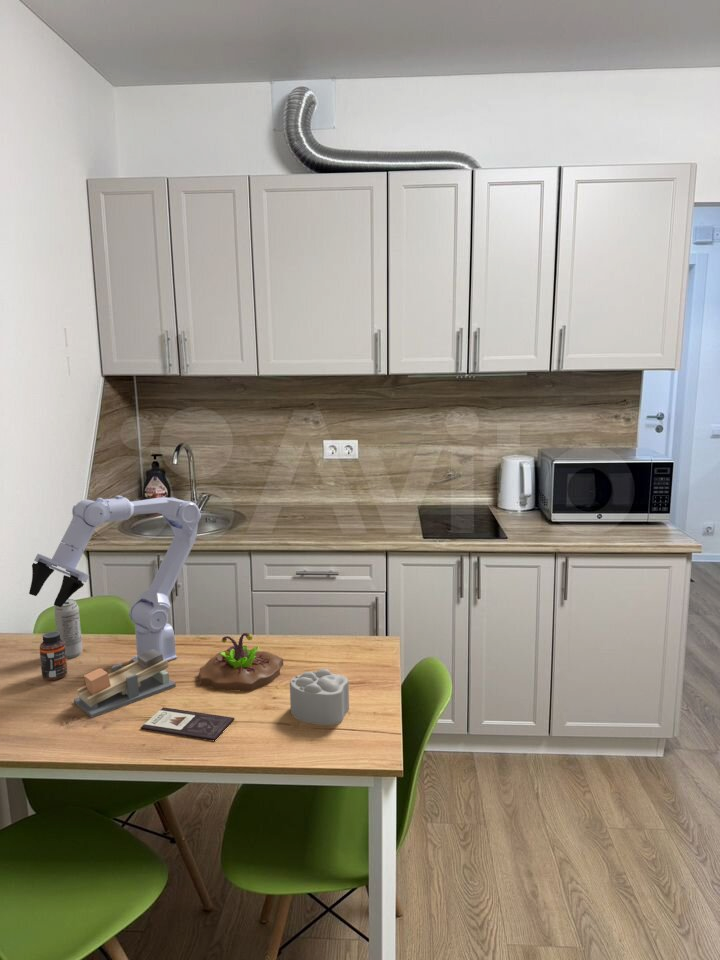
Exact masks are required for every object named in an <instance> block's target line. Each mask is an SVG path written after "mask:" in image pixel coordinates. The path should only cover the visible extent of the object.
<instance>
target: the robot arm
mask: <svg viewBox="0 0 720 960" xmlns="http://www.w3.org/2000/svg"><path fill="white" fill-rule="evenodd" d="M123 496H124V495H121V494H120V495H114V498H105V499H104V498H103V497H97V498H96V500H95V501H94V500H92V499H88V498H87V499H81V500H80V501H79V502H77V503H76V505H73V507H72V509H71V510H72V511H71V513H72V518H71V521H70V522H69V525H68V527H67V529H66V530H65V533H64V535H63V537H62V538H61V540H60V542H59V544H58V546H57V548H56V550H55V552H54V554H53V556H52V558H50V557H48V556H45V555H43V554H41V553H37V554H36V556H35V558H34V560H33V561H34V562H33V563H32V565H31V568H32V569H31V570H32V573H31V574H32V575H31V583H30V587H29V592H28V594H29V595H31V596H34V597H38V594H39V593H41V590H42V589H43V586H44V584H45V583H46V581H47V580H48V578H49V577H50V576H51V575H52V574H53V573H54V572H55V571H57V572H59V573H62V574H64V575H63V576H62V583H61V586H60V588H59V591H58V594H57V596H56V598H55V599H54V603H53V605H54V606H55V607H56V606H58V607H62V605H63V604H64V603H65V602H66V601H67V599H70V597H71V596H72V595H74V594H75V593H76V592H77V591H79V589H81V588H82V587H83V586H85V583H87V581H88V579H89V577H90V574H87V573H85V572H84V571H81V570H79V569H76V568H77V566H78V564H79V562H80V561H81V558H82V556H83V555H84V552H85V551H86V550H85V549H86V548H87V546H88V545H89V542H90V540H91V538H92V536H93V534H94V533H95V531H96V528H97V527H100V526H101V525H103V524H104V523H113V522H121V521H128V520H130V518H131V517H132V516H133V515H142V514H156V513H157V514H159V515H160V514H161V516H162V517H163V519H164V520H165V521H166V523H167V524H168V525H169V526H170V528H171V531H172V533H173V535H174V537H173V539H172V541H171V542H170V545H169V547H168V549H167V551H166V553H165V556H164V557H163V560H162V561H161V563H160V565H159V567H158V569H157V572H156V573H155V576H154V578H153V580H152V582H151V584H150V586H149V588H148V589H147V590H146V591H144V592H142V593H141V594H140V595H139V597H138V599H137V600H136V601H135V602H134V603H133V604H132V605H131V607H130V609H129V612H128V613H129V615H128V616H129V619H130V620H131V622H132V623H134V628H135V629H134V632H135V644H136V656H134V657H133V656H132V657H131V661H133V662H135V661H137V660H138V659H137V656H139V655H141V654H143V653H145V652H147V651H149V650H151V649H155V650H156V651H158V652H159V653H161V654H162V656H163V660H165V659H166V660H167V662H169V661H172V660H175V659H178V656H177V653H176V652H177V651H176V639H175V638H176V637H175V631H174V628H173V626H172V625H171V624H170V623H168V620H169V613H170V610H171V608H172V607H171V604H170V603H171V602H170V600H169V597H170V595H171V592H172V590H173V588H174V586H175V584H176V582H177V580H178V578H179V575H180V573H181V571H182V569H183V567H184V565H185V562H186V561H187V559H188V557H189V555H190V553H191V550H192V548H193V546H194V544H195V543H196V540H197V536H198V526H199V522H200V521H201V518H202V514H201V511H200V508H199V506H198V505H197V504H196V503H195V502H193V501H186V500H183V499H180V498H179V499H178V498H176V497H173V496H171V497H155V498H149V499H142V500H141V499H139V500H134V501H130V500H129V499H128V498H127V497H125V496H124V497H123ZM35 562H36V563H35ZM60 568H61V569H60ZM62 569H65V570H62Z"/></svg>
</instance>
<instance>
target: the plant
mask: <svg viewBox="0 0 720 960" xmlns="http://www.w3.org/2000/svg"><path fill="white" fill-rule="evenodd" d="M244 638H246V640H248V641H252V639H253V635H252V634H251V633H248V632H244V633H242V634H241V635H240V637H239V638H238V643H237V641H236V640H235V639H234V638H233V637H231V636H229V635H228V636H223V637H221V642H222V643H227V641H228V640H229V641H230V642H231V643H232V645H231V646H230V647H229V648H227V649H226V650H224V651H221V652H218V653H216V654H215V655H214V656H213V657H211V658H210V659H209V660H207V662H206V663H205V664H204V665H203V666H202V667H200V668H199V671H198V680H199V682H200V686H209V687H211V688H212V689H213V690H216V691H231V690H240V691H239V692H253V691H255V690H257V689H258V688H260V687H265V686H267V685H269V684H271V683H272V682H273V681H274V680H276V679H277V678H278V677H279V676H280V675H281V668H282V667H283V666H284V659H283V658H282V657H280V656H278V655H276V654H273V653H272V652H271V653H270V652H269V651H258V650H259V648H260V647H259V646H256V647H255V646H254V647H253V648H251V649H248V647H247V645H245V644H244V642H243V641H244V640H243V639H244ZM227 639H228V640H227Z"/></svg>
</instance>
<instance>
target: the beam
mask: <svg viewBox="0 0 720 960" xmlns="http://www.w3.org/2000/svg"><path fill="white" fill-rule="evenodd" d="M136 656H137V655H136ZM137 659H138V660H137V661H135V662H134V661H133V662H131V663H130V664H127V665H125V666H122V668H121V669H119V670H117V671H115V672H113V673H112V672H110V673H108V676H109V680H110V684H111V686H110V687H108V688H106V689H104V690H102V691H100V692H98V693H96V694H94V695H93V694H92V693H90V692H89V691H88V689H87V685H86V684H85V685H84V686H82V687H80V688H78V689H76V691H77V694H78V697H80V698H81V699H82V700H83V701H84V702H85V703H87V704H88V705H89V706H90V707H91V706H93V705H95V704H97V703H99V702H101V701H103V700H105V699H107V698H109V697H111V696H113V695H115V694H117V693H121V694H122V695H125V694H126V691H125V689H127V683H126V677H129V676H132V675H135V674H136V675H137V678H138V687H140V686H141V684H140V682H141V681H143V680H145V679H147V678H149V677H151V676H153V675H154V674H156V673H158V672H160V671H162V670H167V669H168V668H169V663H168V662H169V661H167V660H166V659H165V660H163V656H162V654H161V653H159V652H158V651H156V650H155V649H151V650H149V651H147V652H145V653H143V654H141V655H139V656H137Z"/></svg>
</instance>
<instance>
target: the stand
mask: <svg viewBox="0 0 720 960" xmlns="http://www.w3.org/2000/svg"><path fill="white" fill-rule="evenodd" d="M121 668H123V664H122V663H118V664H114V665H113V666H111V668H110V669H111V673H113V672H115V671H117V670H119V669H121ZM169 674H170V673H169V672H168V671H167V670H166V669H164V670H162V671H160V672H158V673H156V674H154V675H153V676H151V677H149V678H147V679H145V680H143V681H141V682H140V684H141V686H140V687H138V678H137V675H136V674H135V675H132V676H129V677H126V683H127V689H125V691H126V694H125V695H122V694H121V693H117V694H115V695H113V696H111V697H109V698H107V699H105V700H103V701H101V702H99V703H97V704H95V705H93V706H91V707H90V706H89V705H88V704H87V703H85V702H84V701H83V700H82V699H81V698H80V697H79V696H78V697H76V698H74V699H73V703H74V704H75V705H77V707H79V708H80V709H81V710H82V711H83V712H85V713H86V714H87V715H88V716H89V717H90V718H91V719H92V718H95V717H97V716H100V715H103V714H106V713H109V712H111V711H114V710H116V709H119V708H121V707H125V706H127V705H130V704H133V703H135V702H138V701H141V700H143V699H146V698H149V697H151V696H155V695H156V694H159V693H162V692H165V691H167V690H171V689H173V688H175V687H177V686H176V685H177V684H176V683H175V682H174V681H173V680H171V679H170V675H169Z"/></svg>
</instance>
